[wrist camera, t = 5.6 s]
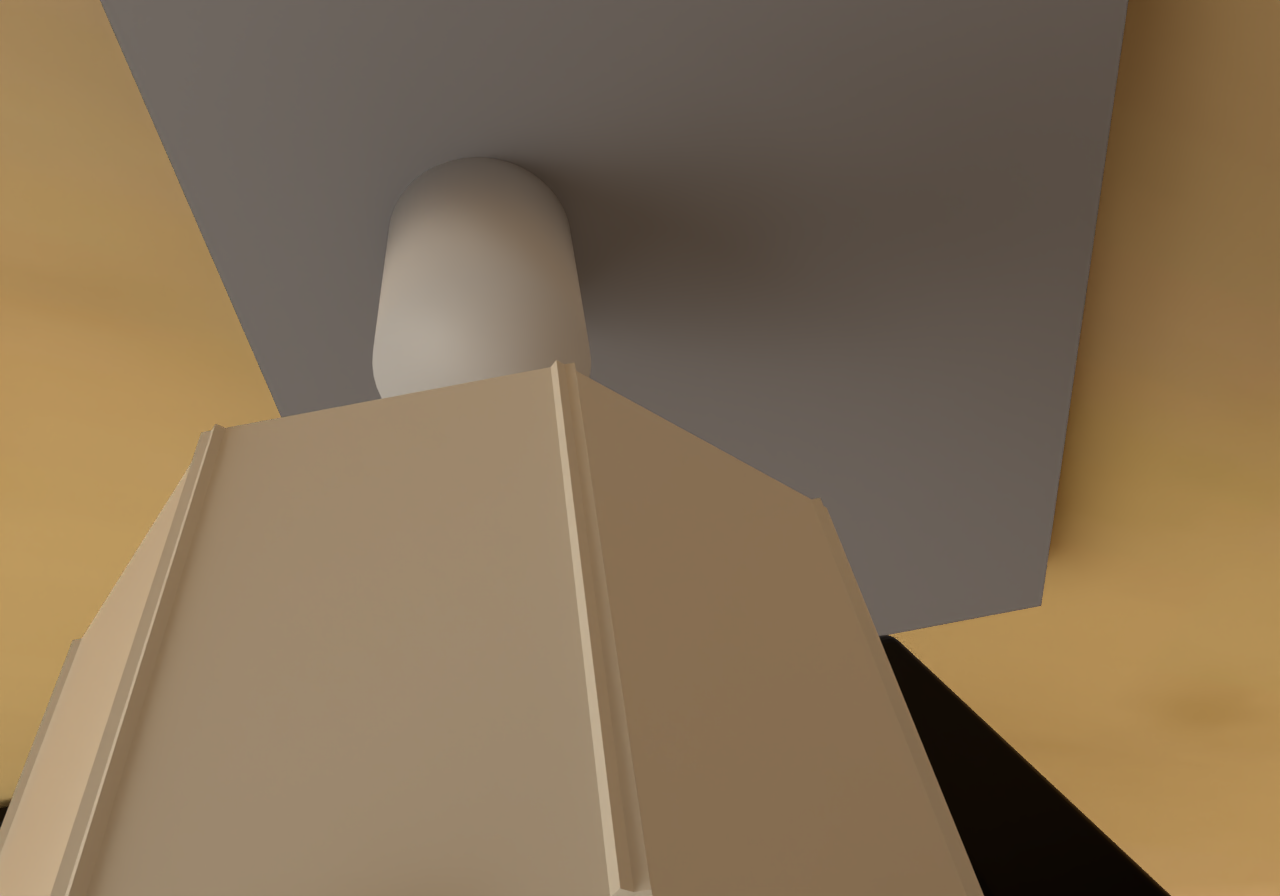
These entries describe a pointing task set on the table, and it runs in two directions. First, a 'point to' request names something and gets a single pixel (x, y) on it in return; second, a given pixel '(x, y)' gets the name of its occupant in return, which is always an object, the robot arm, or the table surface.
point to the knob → (481, 674)
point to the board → (680, 231)
